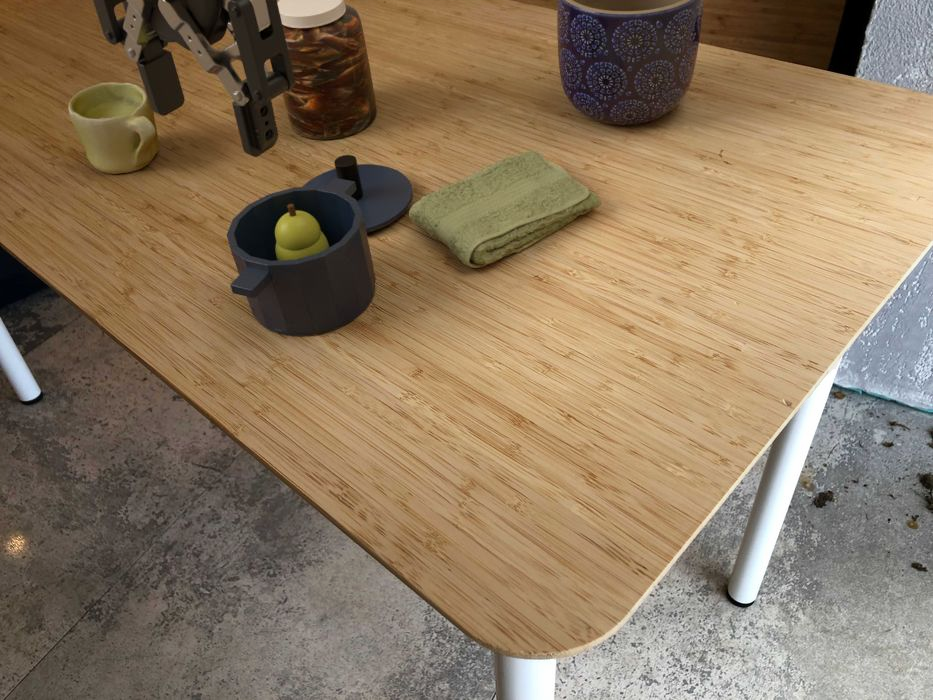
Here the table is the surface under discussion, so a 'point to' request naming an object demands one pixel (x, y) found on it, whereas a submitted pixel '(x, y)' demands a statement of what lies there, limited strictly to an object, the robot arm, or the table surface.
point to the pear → (298, 235)
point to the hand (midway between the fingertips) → (214, 129)
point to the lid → (371, 190)
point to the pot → (304, 262)
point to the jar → (327, 69)
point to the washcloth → (503, 208)
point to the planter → (627, 56)
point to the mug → (115, 126)
